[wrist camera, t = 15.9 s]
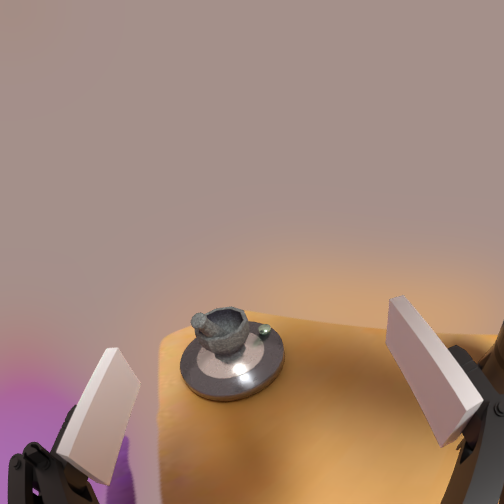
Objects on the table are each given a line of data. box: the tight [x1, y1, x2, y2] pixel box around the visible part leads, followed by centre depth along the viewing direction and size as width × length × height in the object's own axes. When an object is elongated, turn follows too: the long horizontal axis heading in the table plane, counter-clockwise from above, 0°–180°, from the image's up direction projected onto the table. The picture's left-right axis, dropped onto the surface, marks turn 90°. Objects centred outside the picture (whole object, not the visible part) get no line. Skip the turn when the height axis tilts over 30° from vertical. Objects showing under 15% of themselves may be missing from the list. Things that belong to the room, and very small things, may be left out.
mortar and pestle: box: [191, 307, 250, 362], centre depth 47 cm, size 11×9×12 cm
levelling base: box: [180, 321, 285, 401], centre depth 50 cm, size 20×20×4 cm
